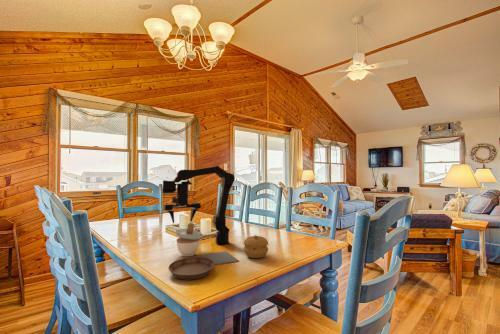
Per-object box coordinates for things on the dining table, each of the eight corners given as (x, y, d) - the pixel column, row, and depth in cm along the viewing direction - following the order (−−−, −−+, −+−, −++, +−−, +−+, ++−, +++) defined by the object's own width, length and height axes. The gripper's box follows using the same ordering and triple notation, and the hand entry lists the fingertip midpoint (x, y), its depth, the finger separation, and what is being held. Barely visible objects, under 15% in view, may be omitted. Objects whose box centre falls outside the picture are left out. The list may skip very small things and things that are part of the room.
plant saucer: (218, 278, 97) (217, 270, 97) (168, 285, 92) (168, 276, 92) (211, 262, 114) (211, 255, 114) (168, 266, 109) (168, 259, 109)
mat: (226, 251, 131) (226, 251, 131) (238, 261, 116) (238, 260, 116) (194, 256, 123) (194, 255, 123) (203, 267, 109) (203, 266, 109)
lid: (198, 231, 134) (200, 221, 134) (205, 240, 123) (208, 229, 123) (173, 229, 129) (175, 218, 128) (178, 238, 117) (180, 227, 117)
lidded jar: (194, 258, 119) (193, 237, 119) (172, 257, 121) (172, 237, 122) (203, 251, 129) (202, 232, 130) (183, 251, 132) (182, 232, 132)
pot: (240, 254, 127) (240, 233, 127) (262, 251, 131) (262, 231, 131) (248, 262, 116) (248, 239, 116) (272, 259, 120) (272, 237, 120)
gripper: (196, 191, 151) (195, 218, 150) (162, 192, 143) (161, 221, 142) (201, 193, 141) (201, 222, 140) (165, 194, 133) (164, 225, 132)
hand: (182, 222), depth 139 cm, fingers open, 9 cm apart
